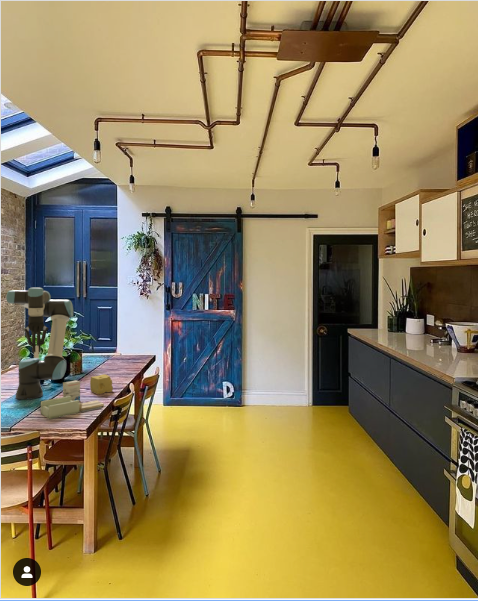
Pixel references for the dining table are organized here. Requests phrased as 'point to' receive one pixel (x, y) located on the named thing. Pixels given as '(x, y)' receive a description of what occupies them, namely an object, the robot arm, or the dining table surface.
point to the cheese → (101, 384)
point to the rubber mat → (90, 409)
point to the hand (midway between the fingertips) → (36, 357)
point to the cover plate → (90, 405)
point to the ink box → (72, 390)
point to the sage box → (59, 407)
